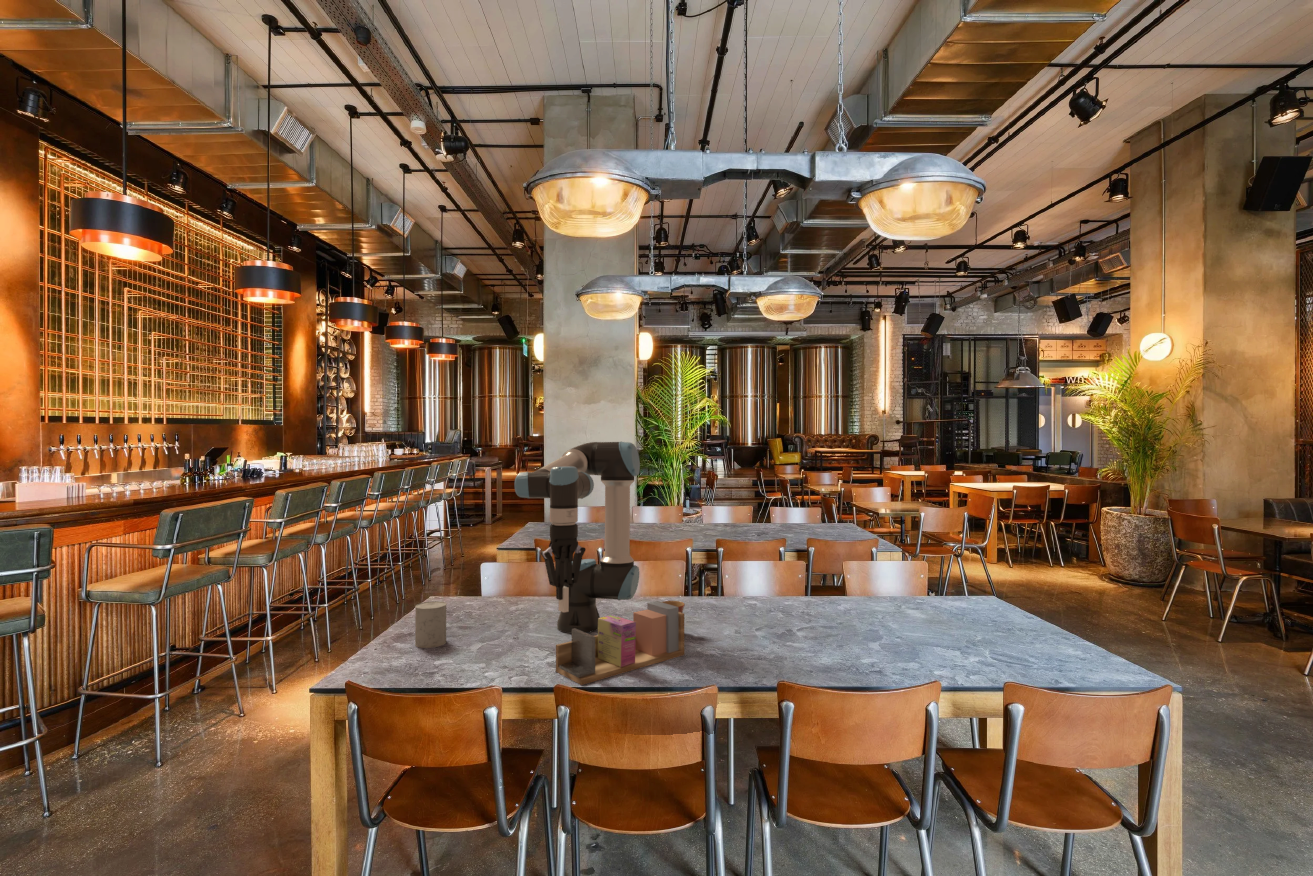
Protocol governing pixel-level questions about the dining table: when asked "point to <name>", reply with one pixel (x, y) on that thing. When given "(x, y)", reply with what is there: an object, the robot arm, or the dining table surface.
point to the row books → (657, 629)
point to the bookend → (581, 655)
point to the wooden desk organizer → (608, 669)
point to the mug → (677, 604)
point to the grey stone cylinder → (430, 624)
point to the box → (616, 640)
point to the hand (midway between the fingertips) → (563, 611)
